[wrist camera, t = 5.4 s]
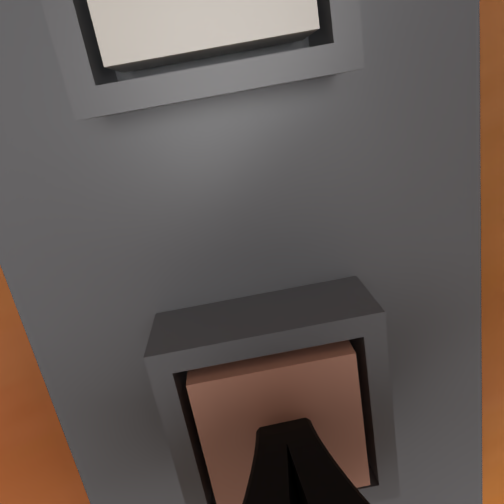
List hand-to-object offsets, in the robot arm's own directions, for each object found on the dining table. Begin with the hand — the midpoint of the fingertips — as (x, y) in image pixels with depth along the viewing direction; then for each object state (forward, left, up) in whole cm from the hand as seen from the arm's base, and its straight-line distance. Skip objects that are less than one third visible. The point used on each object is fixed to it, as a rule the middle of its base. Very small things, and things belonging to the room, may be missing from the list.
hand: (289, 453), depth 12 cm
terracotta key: (0, 0, -3) cm, 3 cm away
